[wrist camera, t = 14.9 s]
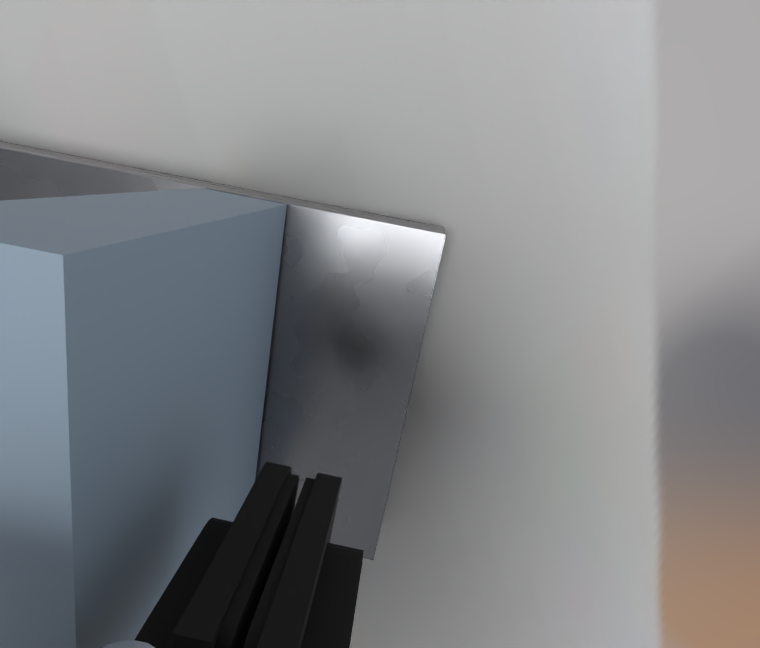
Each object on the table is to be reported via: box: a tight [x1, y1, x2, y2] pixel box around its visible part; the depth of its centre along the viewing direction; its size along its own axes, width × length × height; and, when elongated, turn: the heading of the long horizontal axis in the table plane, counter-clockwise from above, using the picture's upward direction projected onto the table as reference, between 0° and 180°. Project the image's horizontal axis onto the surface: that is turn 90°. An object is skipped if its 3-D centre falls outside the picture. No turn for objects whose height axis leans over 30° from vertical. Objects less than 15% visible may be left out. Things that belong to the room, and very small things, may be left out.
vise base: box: [0, 141, 446, 560], centre depth 12 cm, size 12×18×11 cm, turn 80°
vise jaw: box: [0, 188, 287, 648], centre depth 11 cm, size 12×2×9 cm, turn 170°
